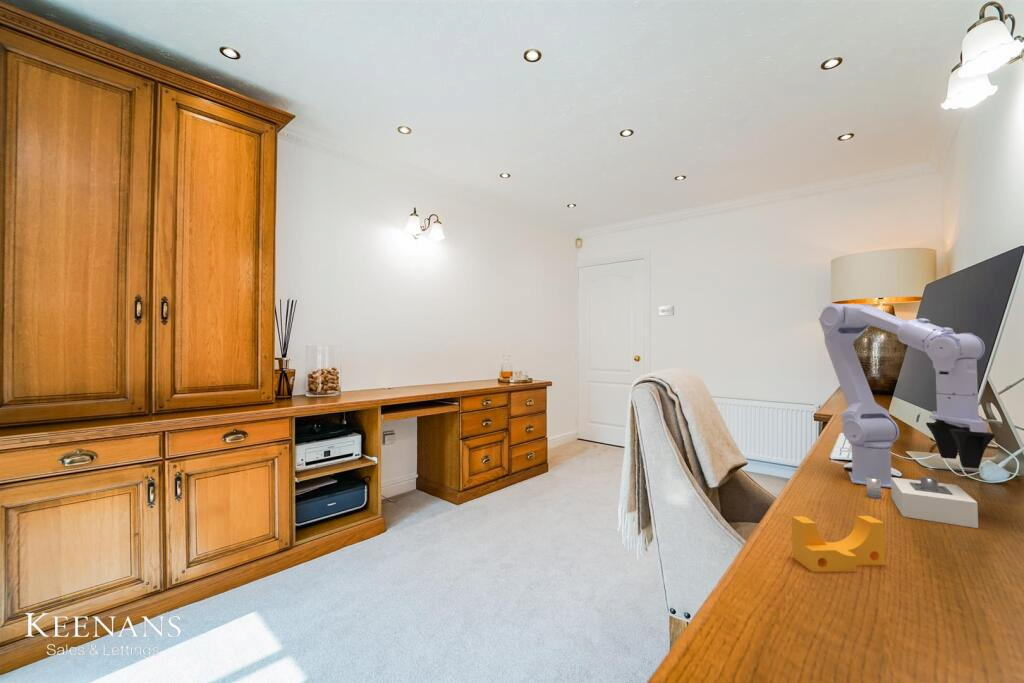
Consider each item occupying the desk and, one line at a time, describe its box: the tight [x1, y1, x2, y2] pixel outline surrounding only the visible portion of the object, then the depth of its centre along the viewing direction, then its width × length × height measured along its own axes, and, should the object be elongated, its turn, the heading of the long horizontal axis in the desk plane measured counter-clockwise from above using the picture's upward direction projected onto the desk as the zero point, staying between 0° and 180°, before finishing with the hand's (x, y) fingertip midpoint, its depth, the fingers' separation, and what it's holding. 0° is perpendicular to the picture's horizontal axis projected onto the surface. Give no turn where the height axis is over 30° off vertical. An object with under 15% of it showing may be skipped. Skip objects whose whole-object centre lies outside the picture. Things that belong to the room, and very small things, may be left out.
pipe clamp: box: [791, 515, 886, 573], centre depth 64 cm, size 12×4×6 cm, turn 90°
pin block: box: [890, 476, 979, 529], centre depth 83 cm, size 12×10×5 cm
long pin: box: [920, 476, 939, 491], centre depth 84 cm, size 2×2×6 cm
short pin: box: [866, 477, 882, 500], centre depth 92 cm, size 2×2×4 cm
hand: (958, 462), depth 84 cm, fingers open, 7 cm apart
